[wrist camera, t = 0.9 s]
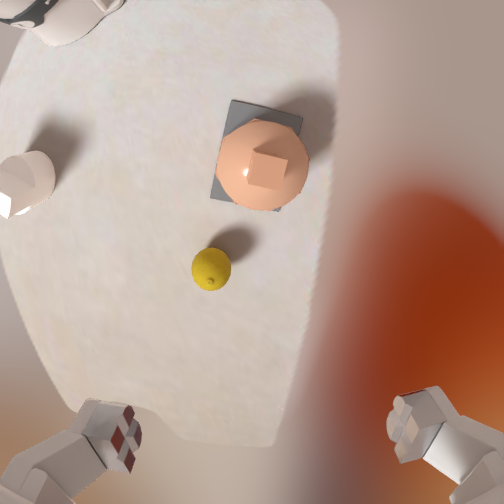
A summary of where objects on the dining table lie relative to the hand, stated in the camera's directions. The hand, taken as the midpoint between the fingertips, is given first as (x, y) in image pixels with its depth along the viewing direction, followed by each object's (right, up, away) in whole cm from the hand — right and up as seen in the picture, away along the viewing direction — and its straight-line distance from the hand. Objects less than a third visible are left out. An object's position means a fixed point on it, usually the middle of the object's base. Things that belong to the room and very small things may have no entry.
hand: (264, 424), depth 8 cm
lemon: (-6, +4, +38) cm, 39 cm away
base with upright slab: (-36, +17, +30) cm, 50 cm away
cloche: (0, +18, +32) cm, 36 cm away
